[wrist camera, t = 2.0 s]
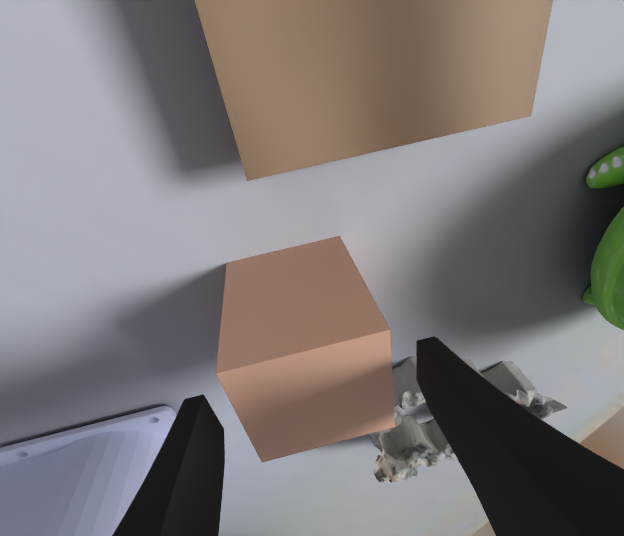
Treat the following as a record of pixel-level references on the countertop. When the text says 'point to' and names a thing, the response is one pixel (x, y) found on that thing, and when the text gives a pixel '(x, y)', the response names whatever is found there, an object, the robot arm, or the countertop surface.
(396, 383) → the egg carton
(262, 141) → the walnut block
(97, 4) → the countertop surface
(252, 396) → the terracotta block
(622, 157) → the turtle holder
